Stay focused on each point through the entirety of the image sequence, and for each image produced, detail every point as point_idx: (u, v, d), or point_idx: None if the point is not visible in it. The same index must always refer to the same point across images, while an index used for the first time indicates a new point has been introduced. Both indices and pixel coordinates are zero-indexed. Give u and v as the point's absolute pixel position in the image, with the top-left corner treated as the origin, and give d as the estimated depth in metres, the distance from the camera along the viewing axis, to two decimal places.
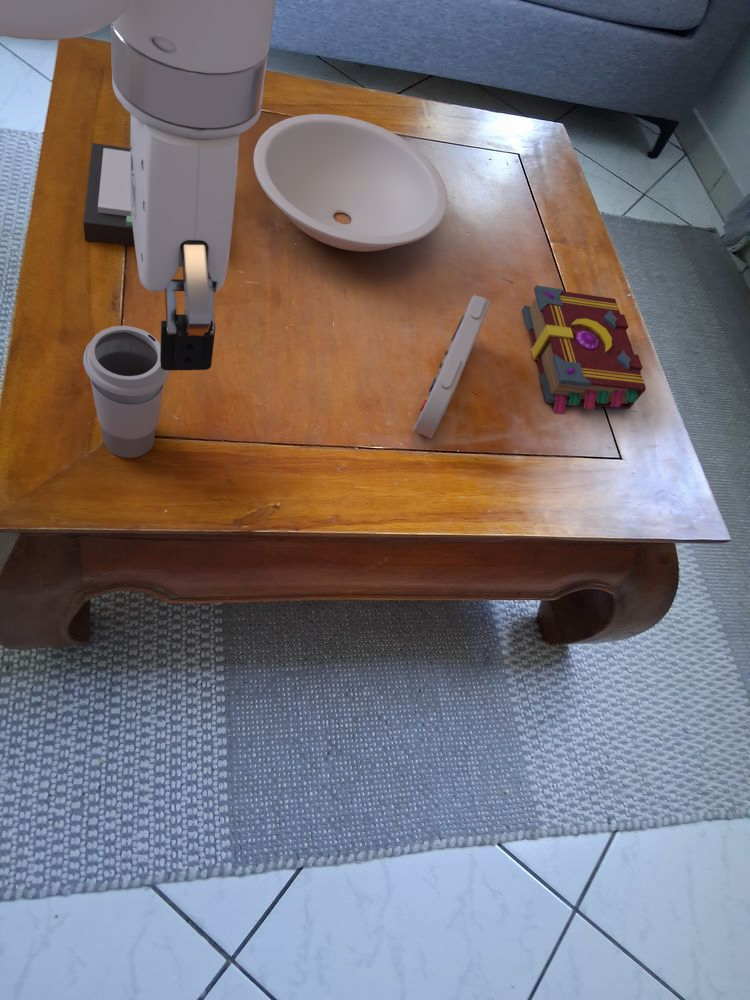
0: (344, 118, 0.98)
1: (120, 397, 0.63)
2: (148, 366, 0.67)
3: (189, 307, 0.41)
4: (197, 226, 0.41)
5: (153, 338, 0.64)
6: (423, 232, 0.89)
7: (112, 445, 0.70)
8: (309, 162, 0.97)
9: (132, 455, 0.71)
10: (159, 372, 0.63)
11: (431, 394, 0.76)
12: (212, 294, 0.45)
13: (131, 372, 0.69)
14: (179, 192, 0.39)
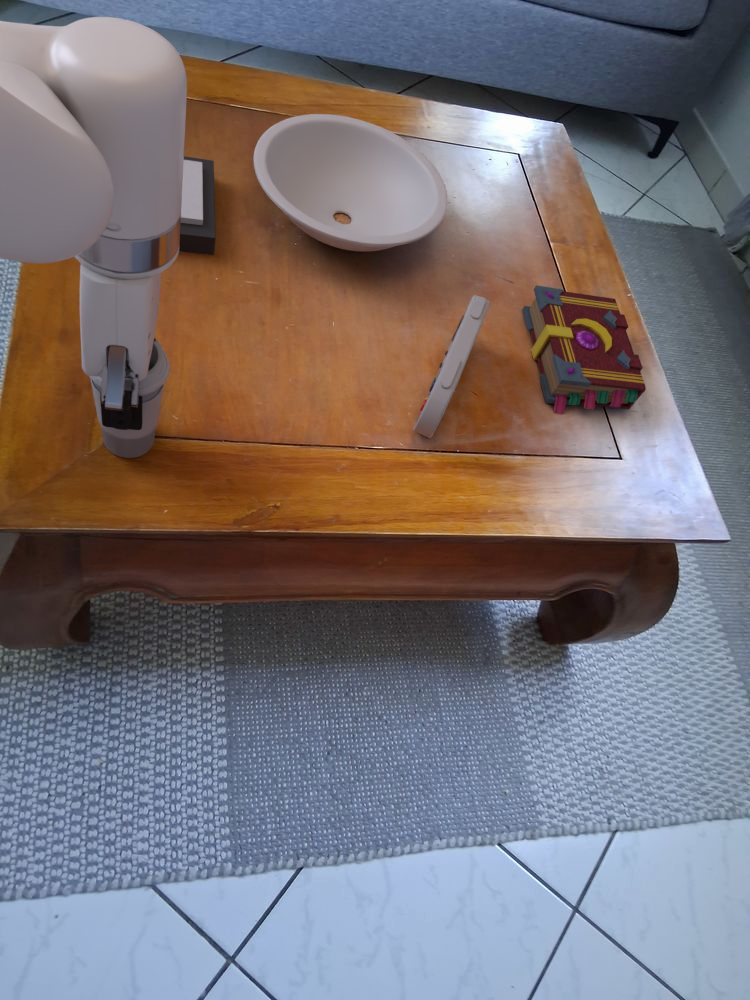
0: (344, 118, 0.98)
1: None
2: None
3: (106, 398, 0.56)
4: (118, 336, 0.54)
5: None
6: (423, 232, 0.89)
7: (112, 445, 0.70)
8: (310, 162, 0.97)
9: (132, 455, 0.71)
10: (159, 372, 0.63)
11: (431, 394, 0.76)
12: (137, 381, 0.59)
13: None
14: (102, 313, 0.52)
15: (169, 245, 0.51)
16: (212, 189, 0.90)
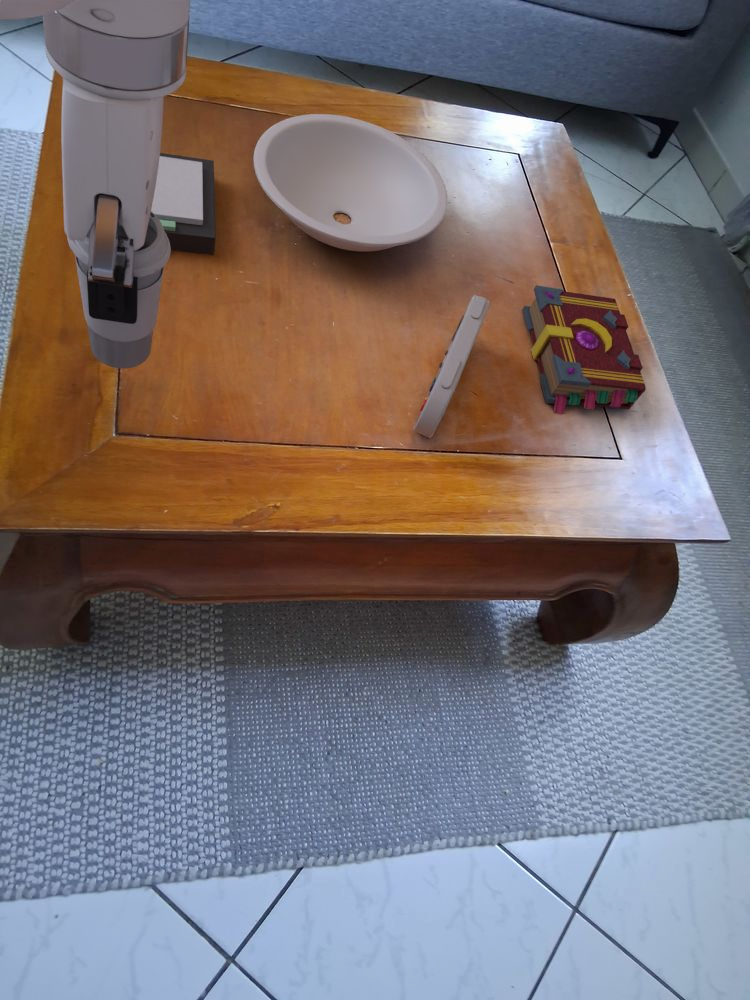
0: (344, 118, 0.98)
1: None
2: None
3: (93, 261, 0.45)
4: (109, 181, 0.44)
5: (151, 214, 0.54)
6: (423, 232, 0.89)
7: (101, 352, 0.59)
8: (310, 162, 0.97)
9: (125, 365, 0.60)
10: (159, 251, 0.53)
11: (431, 394, 0.76)
12: (132, 252, 0.49)
13: None
14: (89, 145, 0.42)
15: (174, 58, 0.41)
16: (212, 189, 0.90)
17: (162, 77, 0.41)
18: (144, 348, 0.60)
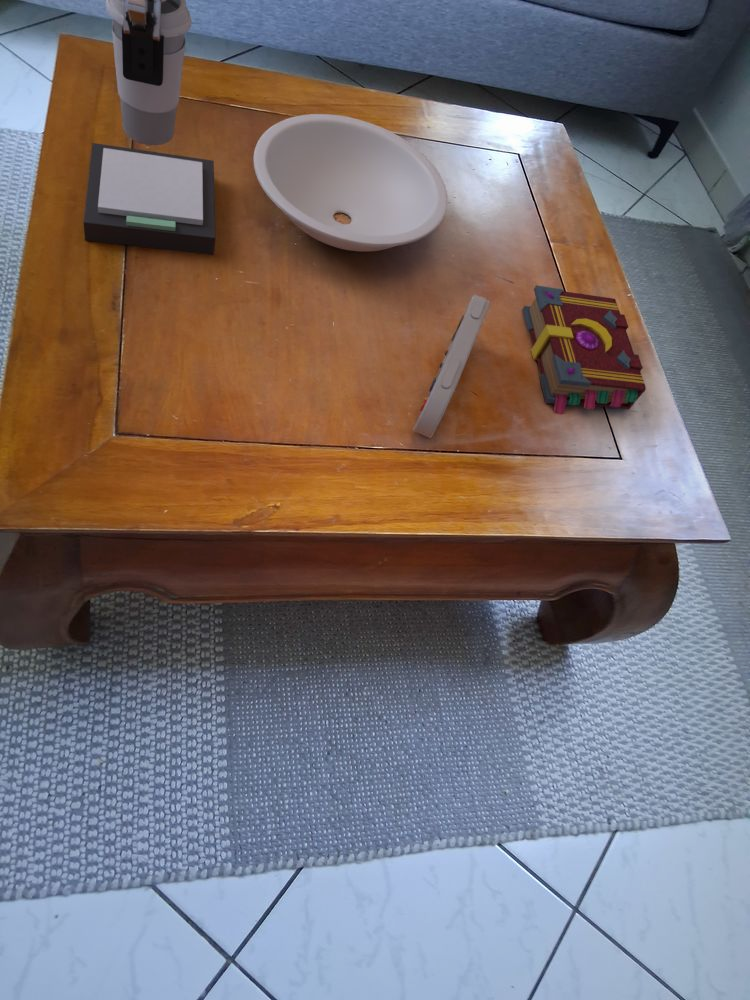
0: (344, 118, 0.98)
1: None
2: None
3: None
4: None
5: None
6: (423, 232, 0.89)
7: (132, 127, 0.70)
8: (310, 162, 0.97)
9: (152, 141, 0.71)
10: (182, 18, 0.63)
11: (431, 394, 0.76)
12: (159, 5, 0.59)
13: None
14: None
15: None
16: (212, 189, 0.90)
17: None
18: (168, 125, 0.70)
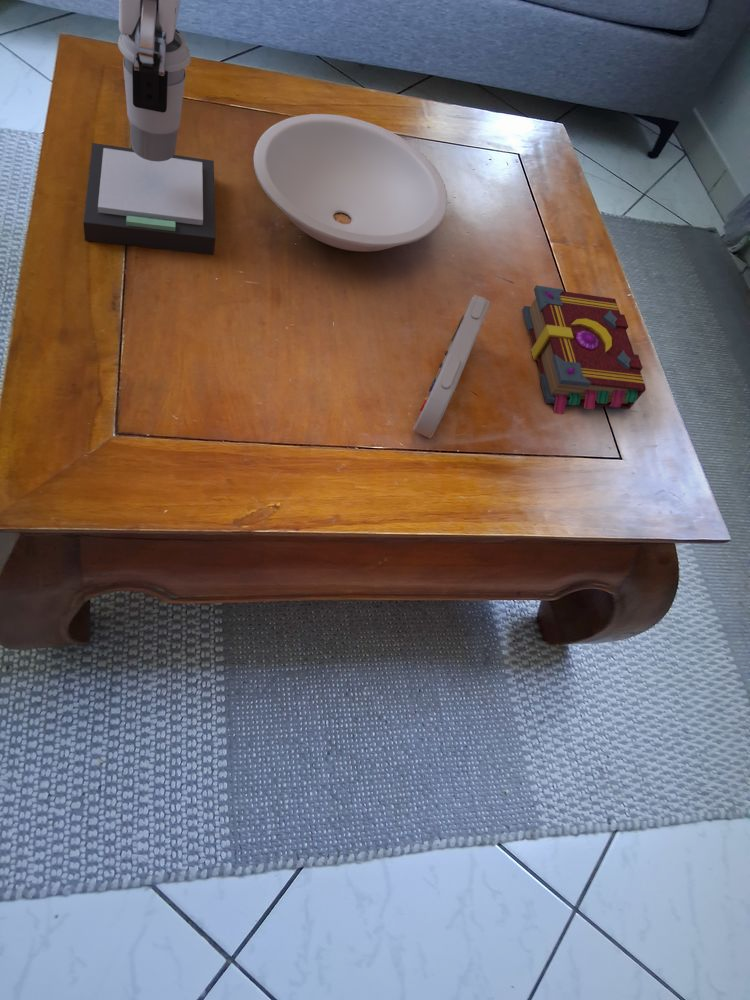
0: (344, 118, 0.98)
1: None
2: None
3: (140, 42, 0.67)
4: None
5: (177, 32, 0.75)
6: (423, 232, 0.89)
7: (139, 146, 0.81)
8: (310, 162, 0.97)
9: (157, 158, 0.82)
10: (182, 55, 0.74)
11: (431, 394, 0.76)
12: (164, 47, 0.70)
13: None
14: None
15: None
16: (212, 189, 0.90)
17: None
18: (171, 144, 0.82)
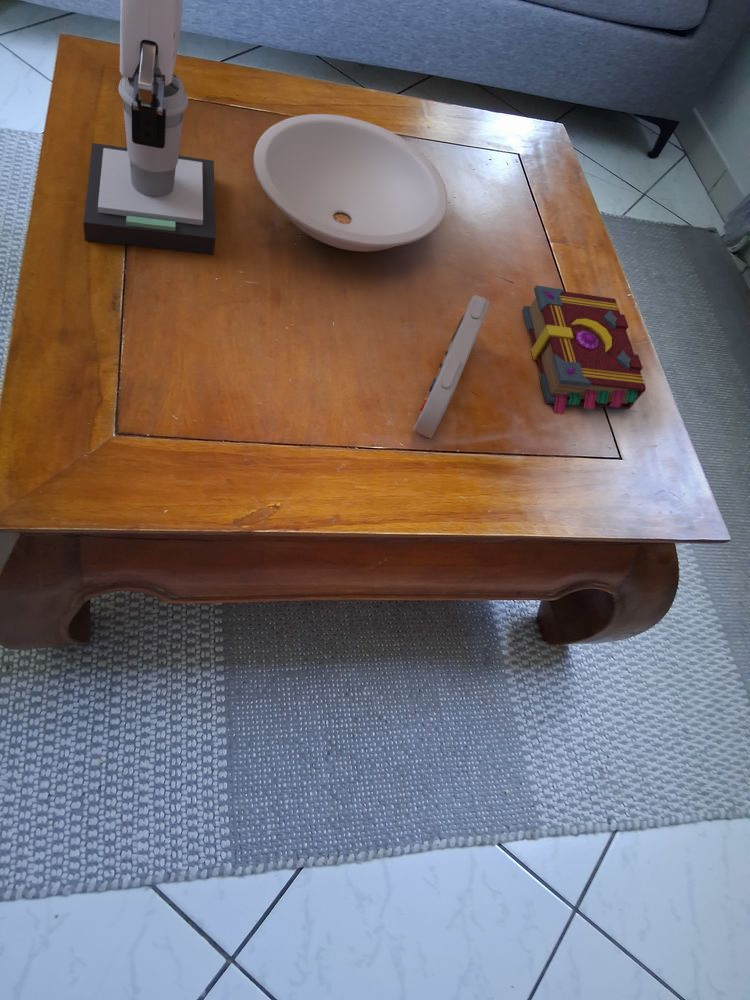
0: (344, 118, 0.98)
1: None
2: None
3: (139, 78, 0.69)
4: (150, 30, 0.68)
5: (175, 76, 0.79)
6: (423, 232, 0.89)
7: (139, 182, 0.84)
8: (310, 162, 0.97)
9: (156, 193, 0.85)
10: (180, 99, 0.78)
11: (431, 394, 0.76)
12: (163, 86, 0.73)
13: None
14: (139, 4, 0.67)
15: None
16: (212, 189, 0.90)
17: None
18: (169, 181, 0.85)
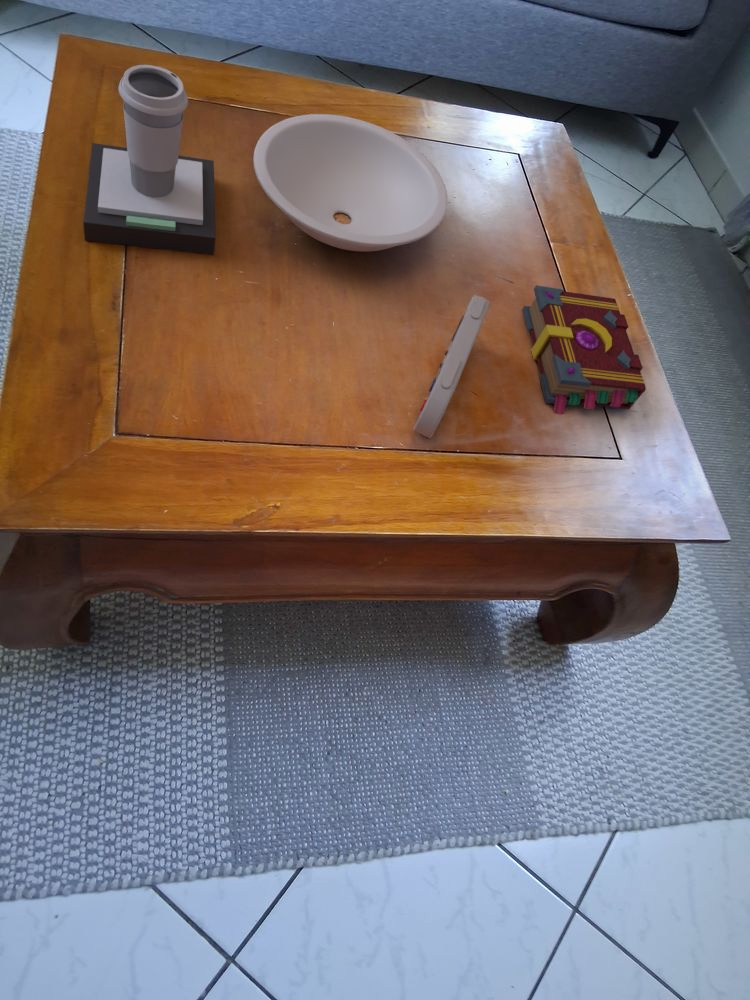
0: (344, 118, 0.98)
1: (148, 119, 0.78)
2: None
3: None
4: None
5: (175, 76, 0.79)
6: (423, 232, 0.89)
7: (139, 182, 0.84)
8: (310, 162, 0.97)
9: (156, 193, 0.85)
10: (180, 99, 0.78)
11: (431, 394, 0.76)
12: None
13: None
14: None
15: None
16: (212, 189, 0.90)
17: None
18: (169, 181, 0.85)
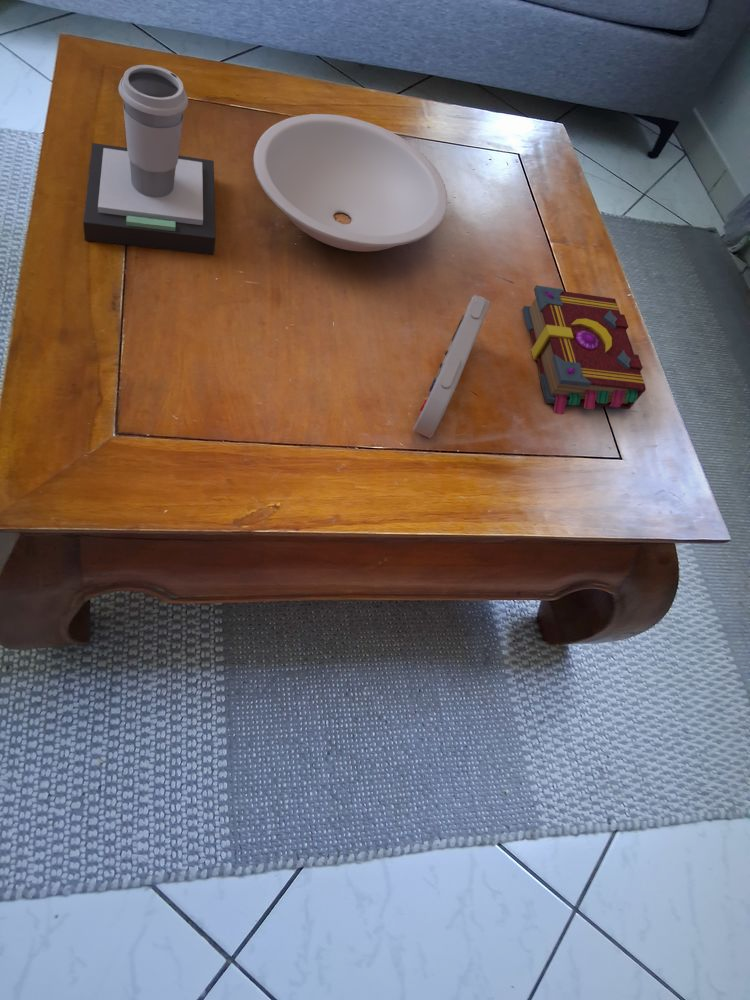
0: (344, 118, 0.98)
1: (148, 119, 0.78)
2: None
3: None
4: None
5: (175, 76, 0.79)
6: (423, 232, 0.89)
7: (139, 182, 0.84)
8: (310, 162, 0.97)
9: (156, 193, 0.85)
10: (180, 99, 0.78)
11: (431, 394, 0.76)
12: None
13: None
14: None
15: None
16: (212, 189, 0.90)
17: None
18: (169, 181, 0.85)
